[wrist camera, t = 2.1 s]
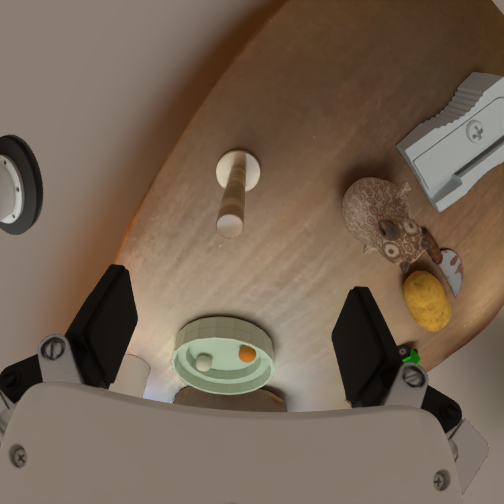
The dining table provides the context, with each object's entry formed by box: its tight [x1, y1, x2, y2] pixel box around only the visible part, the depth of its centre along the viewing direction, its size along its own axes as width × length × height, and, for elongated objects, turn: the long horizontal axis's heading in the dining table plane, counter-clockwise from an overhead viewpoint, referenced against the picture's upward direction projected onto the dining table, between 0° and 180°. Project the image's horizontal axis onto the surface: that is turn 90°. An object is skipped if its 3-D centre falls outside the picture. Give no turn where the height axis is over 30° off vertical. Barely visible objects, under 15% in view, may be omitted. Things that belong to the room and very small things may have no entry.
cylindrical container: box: [108, 355, 150, 398], centre depth 39 cm, size 7×7×25 cm
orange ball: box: [238, 346, 256, 363], centre depth 44 cm, size 3×3×3 cm
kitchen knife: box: [422, 229, 464, 298], centre depth 37 cm, size 21×2×5 cm
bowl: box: [171, 317, 275, 395], centre depth 44 cm, size 17×17×5 cm
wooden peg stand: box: [216, 150, 261, 239], centre depth 24 cm, size 5×5×15 cm
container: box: [173, 386, 287, 412], centre depth 52 cm, size 28×28×15 cm
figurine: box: [342, 177, 432, 274], centre depth 25 cm, size 9×10×15 cm
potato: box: [402, 270, 451, 331], centre depth 37 cm, size 7×14×7 cm, turn 46°
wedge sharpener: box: [396, 72, 504, 212], centre depth 24 cm, size 11×20×7 cm, turn 137°
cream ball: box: [195, 355, 212, 372], centre depth 45 cm, size 3×3×3 cm
